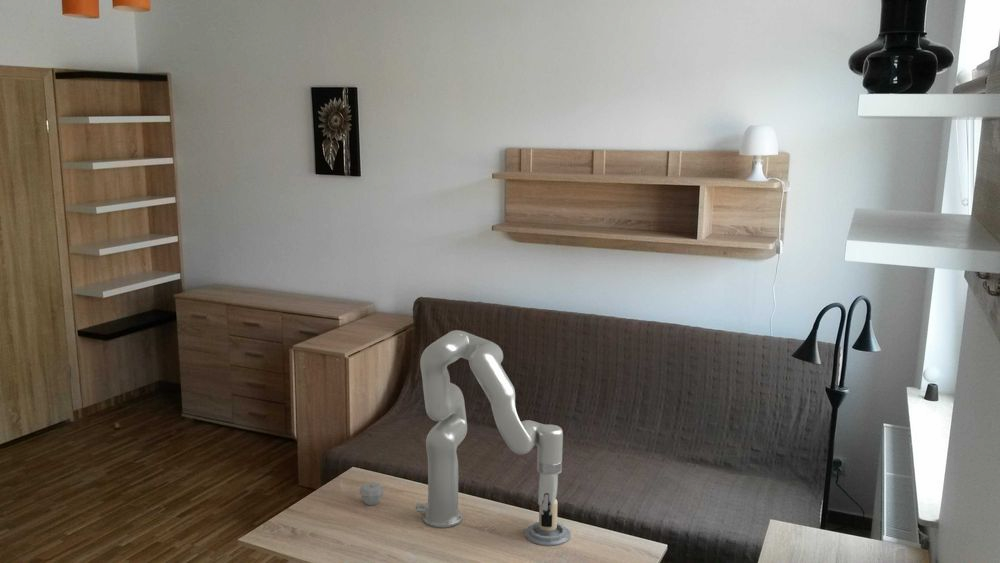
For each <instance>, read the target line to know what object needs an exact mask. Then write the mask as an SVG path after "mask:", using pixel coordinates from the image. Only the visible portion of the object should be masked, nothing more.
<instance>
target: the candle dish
mask: <svg viewBox="0 0 1000 563" xmlns="http://www.w3.org/2000/svg"><path fill="white" fill-rule="evenodd" d="M524 536H525V538H526V539H527V540H528V541H529V542H531V543H532V544H535V545H539V546H545V547H555V546H560V545H563V544H565V543H567V542H569V541H570V540H571V530H569V528H567V527H566V526H564V525H563V524H561V523H559V522H557V528H556V529H555V530H553V531H544V530H541V529H540V528H539V521H536V522H534V523H533V524H530V525H529V526H527V527H526V528H525V531H524Z"/></svg>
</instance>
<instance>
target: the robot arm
mask: <svg viewBox="0 0 1000 563" xmlns="http://www.w3.org/2000/svg"><path fill="white" fill-rule="evenodd" d="M460 358H461V359H464V360H467V361H468V363H469V367H470V370H471V372H472V374H473V375H474V376H475V379H476V380H477V382H478V383H479V385H480V387H481V389H482V391H484V392H483V393H484V394H485V395H486V397H487V399H488V402H489V403H490V406H491V411H492V415H493V418H494V421H495V425H496V427H497V429H498V432H499V433H500V435H501V437H502V439H503V441H504V442H505V443H506V445H507V447H508V448H509V449H510V450H511V451H512V452H513V453H515V455H516V454H517V455H525V454H528V453H529V452H531V451H532V449H533V448H534V446H537V453H536V454H537V457H536V458H537V460H536V471H537V473H538V474H539V480H538V492H537V495H538V496H537V505H538V506H539V505H541V504H542V502H543V505H542V514H541V526H543V527H552V514H551V511H552V506H553V505H554V502H555V499H556V500H557V494H558V486H559V484H558V483H559V482H558V481H559V474H561V473H562V471H563V444H564V443H563V441H564V433H563V432H564V431H563V429H562V427H561V426H559V425H555V424H544V423H540V422H537V421H534V420H529V419H527V420H523V421H521V420H520V417H519V415H518V412H517V408H516V391H515V390H516V389H515V387H514V385H513V383H512V381H511V380H510V378H509V377H508V374H507V373H506V372H505V370H504V368H503V366H502V362H503V360H504V353H503V350H502V349H501V347H500V346H499V345H498V344H497V343H495V342H493V341H491V340H489V339H485V338H483V337H480V336H479V335H478V336H477V335H475V334H473V333H469V332H467V331H464V330H459V329H458V330H456V329H455V330H451V331H449V332H448V333H446V334H444V335H443V336H441V337H440V338H438V339H436V340H435V341H434V342H433V341H432V343H431V344H429V345H428V346H427V347H426V348H425V349H424V350H423V352H422V354H421V356H420V362H419V363H420V364H419V365H420V366H419V367H420V372H421V379H422V389H423V398H424V406H425V411H426V414H427V417H429V418H430V419H431V420H432V421H434V422H437V423H436V424H435V425H434V426H433V427H432V428H431V429H430V430H429V432H428V434H427V435H426V439H425V447H426V448H425V449H426V454H427V497H428V499H427V502H425V503H421V502H416V503H415V506H414V508H415V510H416V512H417V513H423V516H422V520H423V522H424V523H425V524H426V525H427V526H430V527H434V528H442V529H444V528H452V527H455V526H457V525H460V524H461V522H462V521H463V519H464V518H463V517H464V515H463V513H462V512H461V510H459V459H458V455H457V449H458V446H460V444H461V443H462V442H463V441H464V439H465V438H466V436H467V433H468V423H467V422H468V421H467V413H466V406H465V398H464V395H463V391H462V390H461V388H460V387H459V386H457V385H456V384H455V383H453V382H451V378H450V373H449V370H448V366H450V365H451V364H453V363H455V362H456V361H458V360H459V359H460ZM548 503H550V504H548ZM548 507H550V509H548Z"/></svg>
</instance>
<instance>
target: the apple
mask: <svg viewBox="0 0 1000 563" xmlns="http://www.w3.org/2000/svg"><path fill="white" fill-rule="evenodd" d="M359 493H360V497H361V499H362V501H363V503H364V504H365V505H367V506H374V505H377V504H378V503H380V501H381V499H382V497H383V494H384V489H383V487H382V485H381V483H379V482H375V481H374V482H372V481H371V482H365V483H364V484H362V485H361V486H360V488H359Z"/></svg>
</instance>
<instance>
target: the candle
mask: <svg viewBox="0 0 1000 563" xmlns="http://www.w3.org/2000/svg"><path fill="white" fill-rule="evenodd" d="M548 504H550V503H548ZM542 505H543V502H542V504H541V505H538V506H539V507H538V512H539V513H538V522H539V528H540V529H541V530H544V531H553V530H555V529H556V528H557V523H558V506H559V505H558V500H557V498H556V499H555V502H554V505H553V506H552V511H551V514H552V527H543V526H541V514H542ZM548 509H550V507H548Z"/></svg>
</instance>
